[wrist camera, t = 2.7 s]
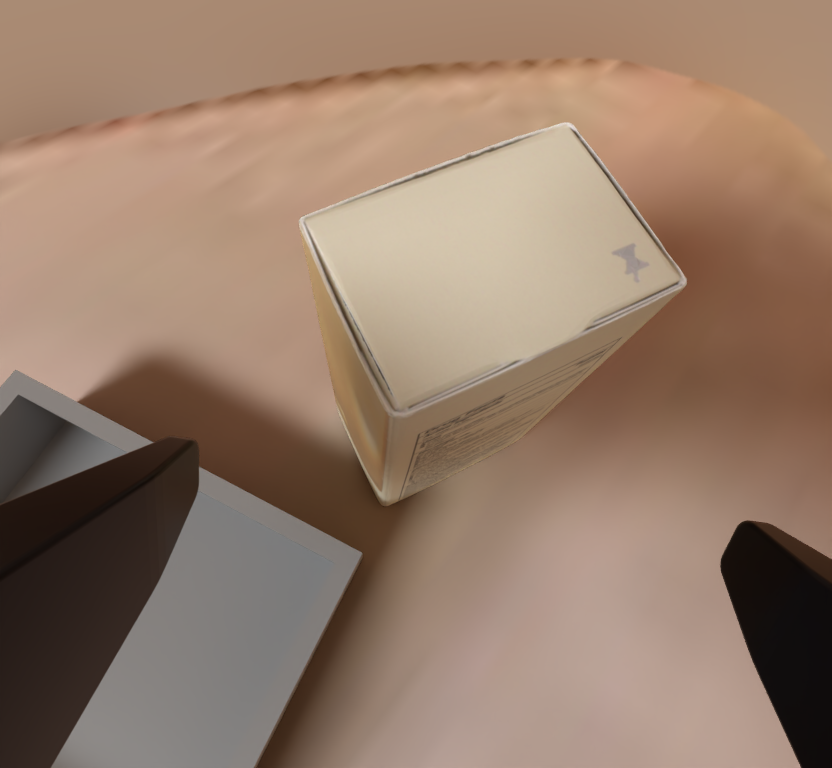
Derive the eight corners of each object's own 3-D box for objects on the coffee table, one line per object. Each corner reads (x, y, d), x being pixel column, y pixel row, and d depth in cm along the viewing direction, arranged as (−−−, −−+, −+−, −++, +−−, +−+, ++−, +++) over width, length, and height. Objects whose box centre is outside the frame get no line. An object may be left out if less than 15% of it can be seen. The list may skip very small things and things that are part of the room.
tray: (362, 558, 19) (362, 553, 16) (151, 974, 15) (92, 1084, 12) (72, 404, 20) (15, 369, 17) (-206, 754, 16) (-355, 799, 12)
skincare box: (470, 349, 22) (584, 106, 11) (522, 442, 21) (711, 277, 10) (327, 412, 21) (285, 205, 9) (374, 515, 20) (393, 421, 8)
